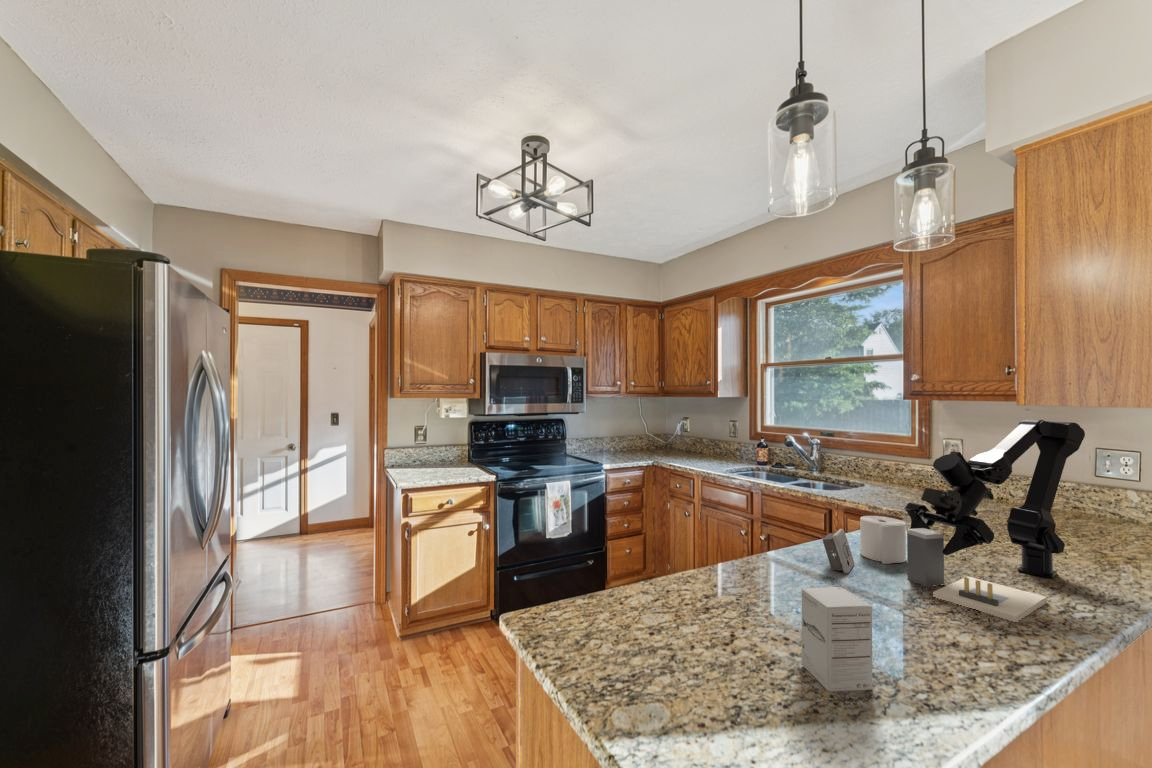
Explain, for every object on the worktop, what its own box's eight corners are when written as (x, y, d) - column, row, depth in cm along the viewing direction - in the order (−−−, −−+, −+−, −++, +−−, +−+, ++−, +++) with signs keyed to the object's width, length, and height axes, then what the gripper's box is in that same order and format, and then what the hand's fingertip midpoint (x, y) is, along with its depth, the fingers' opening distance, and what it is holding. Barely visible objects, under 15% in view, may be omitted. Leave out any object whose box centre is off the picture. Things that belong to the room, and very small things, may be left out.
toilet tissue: (888, 550, 140) (888, 515, 140) (919, 565, 128) (919, 526, 128) (852, 550, 139) (851, 515, 140) (879, 565, 127) (879, 526, 128)
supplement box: (800, 665, 79) (799, 587, 80) (843, 663, 80) (842, 585, 80) (827, 693, 72) (826, 606, 72) (874, 691, 73) (873, 605, 73)
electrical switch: (848, 575, 120) (843, 536, 121) (825, 572, 123) (821, 534, 124) (855, 565, 128) (850, 529, 128) (833, 562, 131) (829, 527, 132)
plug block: (924, 577, 119) (924, 528, 119) (944, 585, 114) (943, 533, 114) (907, 579, 118) (907, 528, 118) (926, 587, 113) (925, 534, 113)
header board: (967, 581, 117) (967, 559, 117) (1046, 602, 105) (1046, 577, 105) (933, 597, 107) (932, 573, 107) (1016, 622, 95) (1015, 595, 95)
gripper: (910, 470, 127) (873, 515, 124) (983, 483, 108) (942, 535, 106) (935, 500, 128) (900, 544, 126) (1012, 517, 110) (972, 570, 107)
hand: (925, 547), depth 116 cm, fingers open, 9 cm apart
